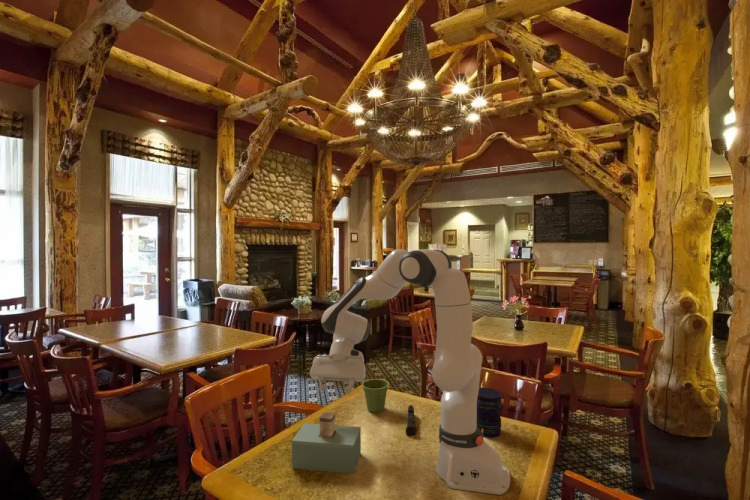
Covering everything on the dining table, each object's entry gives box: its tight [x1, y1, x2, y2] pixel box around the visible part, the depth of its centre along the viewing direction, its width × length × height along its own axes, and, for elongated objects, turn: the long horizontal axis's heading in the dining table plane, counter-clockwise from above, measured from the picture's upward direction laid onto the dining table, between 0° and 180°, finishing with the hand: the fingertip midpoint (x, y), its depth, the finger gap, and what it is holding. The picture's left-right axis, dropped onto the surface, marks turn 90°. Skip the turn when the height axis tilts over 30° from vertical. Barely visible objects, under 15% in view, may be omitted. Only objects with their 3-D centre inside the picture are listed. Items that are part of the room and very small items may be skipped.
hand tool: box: [405, 404, 417, 437], centre depth 153 cm, size 19×4×5 cm, turn 172°
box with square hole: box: [291, 422, 362, 475], centre depth 128 cm, size 20×12×9 cm, turn 81°
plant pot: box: [361, 378, 390, 414], centre depth 167 cm, size 12×12×11 cm
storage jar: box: [477, 387, 502, 439], centre depth 147 cm, size 10×10×15 cm
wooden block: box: [319, 412, 336, 438], centre depth 128 cm, size 4×4×10 cm
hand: (334, 391), depth 137 cm, fingers open, 8 cm apart
